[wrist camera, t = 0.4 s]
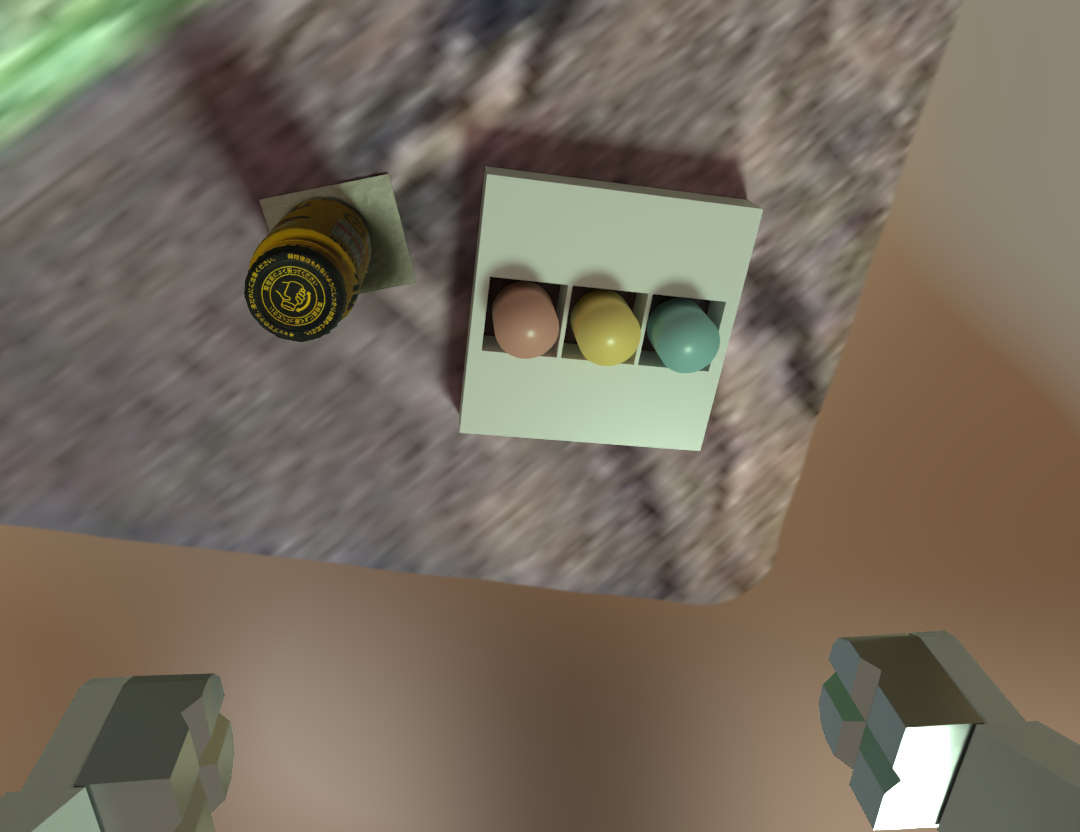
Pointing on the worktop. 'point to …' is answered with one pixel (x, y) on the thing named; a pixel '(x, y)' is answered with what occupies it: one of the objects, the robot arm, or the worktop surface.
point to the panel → (608, 263)
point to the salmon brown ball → (524, 320)
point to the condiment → (325, 256)
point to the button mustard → (605, 328)
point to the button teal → (683, 335)
